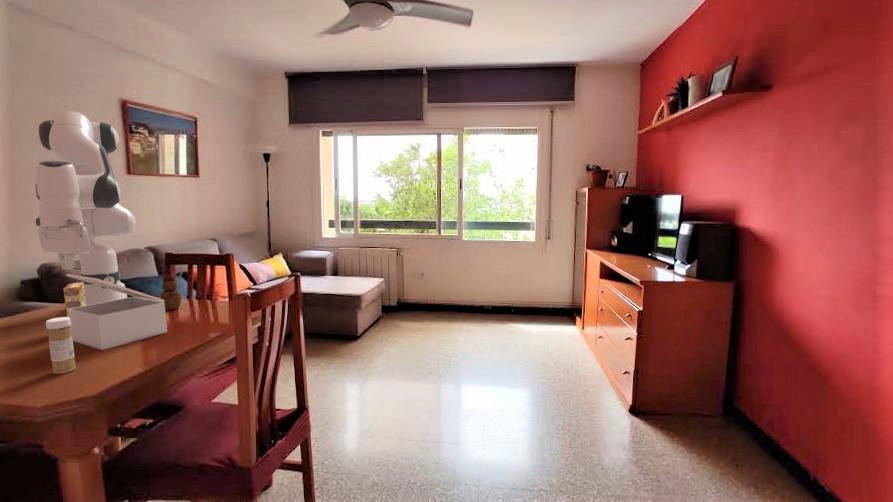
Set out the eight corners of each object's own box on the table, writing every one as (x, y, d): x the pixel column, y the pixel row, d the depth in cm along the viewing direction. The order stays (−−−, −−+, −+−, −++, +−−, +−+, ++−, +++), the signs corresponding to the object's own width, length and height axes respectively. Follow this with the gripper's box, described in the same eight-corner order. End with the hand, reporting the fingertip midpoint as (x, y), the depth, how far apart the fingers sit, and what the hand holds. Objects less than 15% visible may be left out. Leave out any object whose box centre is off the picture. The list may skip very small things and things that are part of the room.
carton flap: (65, 275, 130) (66, 273, 130) (133, 296, 146) (133, 294, 147) (96, 280, 122) (97, 278, 122) (163, 301, 138) (164, 300, 138)
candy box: (86, 333, 140) (80, 286, 138) (68, 335, 137) (62, 288, 135) (89, 326, 147) (84, 281, 145) (73, 328, 145) (67, 283, 143)
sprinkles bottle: (63, 367, 111) (57, 316, 110) (81, 367, 111) (75, 316, 109) (47, 374, 107) (40, 321, 105) (65, 374, 107) (58, 321, 105)
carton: (71, 340, 132) (67, 309, 131) (136, 325, 148) (133, 296, 147) (101, 350, 124) (98, 316, 122) (167, 332, 139) (164, 302, 138)
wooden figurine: (158, 310, 166) (154, 272, 165) (169, 306, 172) (166, 269, 170) (173, 311, 165) (170, 272, 163) (185, 307, 171) (181, 269, 169)
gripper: (94, 219, 119) (100, 269, 121) (59, 219, 129) (65, 265, 131) (66, 220, 114) (72, 272, 115) (31, 220, 123) (38, 268, 125)
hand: (68, 268), depth 123 cm, fingers closed
